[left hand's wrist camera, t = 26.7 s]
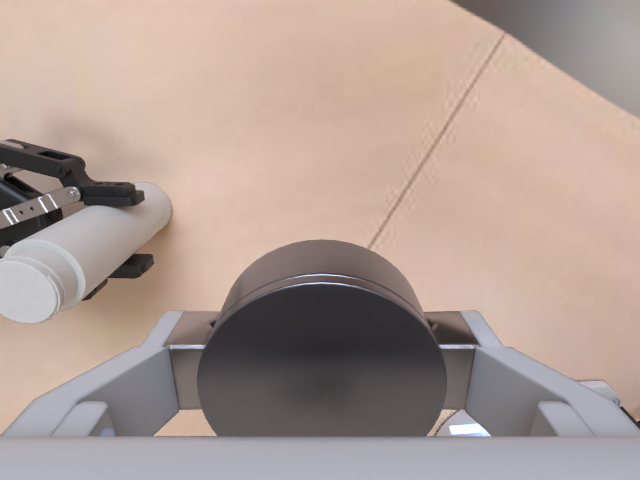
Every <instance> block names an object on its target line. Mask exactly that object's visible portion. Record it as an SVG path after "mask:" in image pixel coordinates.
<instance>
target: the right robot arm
mask: <svg viewBox="0 0 640 480" xmlns="http://www.w3.org/2000/svg"><path fill="white" fill-rule="evenodd" d="M84 169H85V162H84V160H83V159H82V158H81V157H78V156H75V155H71V154H67V153H63V152H59V151H56V150H52V149H48V148H44V147H40V146H37V145H33V144H29V143H25V142H21V141H17V140H14V139H8V140H1V141H0V259H1V258H4V255H5V253H6V252H7V250H8V249H9V248H10V247H11V246H13V245H14V244H16V243H17V242H19V241H21V240H23V239H25V238H27V237H29V236H31V235H33V234H35V233H37V232H39V231H41V230H43V229H45V228H47V227H49V226H51V225H53V224H55V223H57V222H59V221H61V220H63V214H62V210H61V207H63V206H66V205H69V204H72V203H75V202H77V201H84V205H91V206H97V205H98V206H136V205H138V204H140V203H141V202H143V201H144V200H145V196H144V191H143V190H136V188H135V185H134V184H131V183H129V182H97V181H93V180H91V179H90V178H89V177H88V176H87V174H86V172H85V170H84ZM23 170H28V171H32V172H36V173H40V174H44V175H48V176H52V177H56V178H59V180H60V181H61V183H62V185H63V186H64V187H63V188H60V189H58V190H55V191H52V192H49V193H46V194H42V193H40V192H39V191H37V190H36V189H34V188H32V187H31V186H29V185H28V184H26V183H24V182H23V181H21V180H20V179H18V178H16V177H15V176H13V175H12V174H13V173H16V172H19V171H23ZM153 264H154V260H153V255H151V254H133V255H132V256H131V257H129V258H128V259H127V260H126V261H125V262H124V263H123V264H122V265H120V266H119V267H118V268H117V269H116V270H115V271H114V272H113V273H111V274H110V275H109V276H108V277H107V278H137V277H140V276H141V275H142V274H143V273H144V272H146V271H147V270H148V269H149V268H150V267H151V266H152V265H153ZM107 278H106V279H105V280H104V281H102V282H101V283H100V284H99V285H98V286H97V287H96V288H95V289H93V290H92V291H91V292H90V293H89V294H88V295H87V296H86V297H84V298H83V299H82V300H81V301H84V300H88V299H90V298H92V297H93V296H94V295H95V294H96V293H97V292H98V291H99V290H100V289H102V288H103V287H104V286H105V285H106V284H107V282H108V280H107Z"/></svg>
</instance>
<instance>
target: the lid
mask: <svg viewBox="0 0 640 480" xmlns="http://www.w3.org/2000/svg"><path fill="white" fill-rule="evenodd" d="M197 388H198V396H199V400H200V404H201V408H202V410H203V412H204V415H205V417H206V419H207V421H208V423H209V424H210V426H211V428H212V429H213V431H214V432H215V433H216V434H217V436H427V435H428V433H429V432H430V431H431V429H432V428H433V426H434V424H435V423H436V421H437V419H438V418H439V415H440V413H441V410H442V408H443V405H444V401H445V396H446V390H447V372H446V365H445V361H444V357H443V354H442V351H441V349H440V347H439V345H438V343H437V340H436V338H435V336H434V334H433V332H432V329H431V327H430V325H429V323H428V321H427V319H426V316H425V314H424V312H423V310H422V308H421V306H420V303H419V301H418V299H417V297H416V295H415V293H414V290H413V288H412V287H411V285H410V284H409V282H408V281H407V279H406V278H405V277H404V276H403V274H402V273H401V272H400V271H399V270H398V269H397V268H396V267H395V266H394V265H392V264H391V263H390V262H389V261H388V260H386V259H385V258H383V257H381V256H380V255H378V254H377V253H375V252H373V251H370V250H368V249H366V248H364V247H361V246H358V245H355V244H351V243H347V242H342V241H336V240H308V241H302V242H297V243H292V244H289V245H286V246H283V247H280V248H278V249H275V250H273V251H271V252H269V253H267V254H265V255H264V256H262V257H261V258H259V259H258V260H256V261H255V262H254V263H252V264H251V265H250V266H249V267H248V268H247V269H246V270H245V271H244V272H243V273H242V274H241V275H240V276H239V277H238V279H237V280H236V282H235V283H234V285H233V286H232V288H231V289H230V292H229V294H228V296H227V298H226V300H225V303H224V305H223V307H222V309H221V312H220V314H219V316H218V318H217V320H216V323H215V325H214V327H213V329H212V332H211V334H210V336H209V338H208V341H207V343H206V345H205V347H204V349H203V352H202V354H201V358H200V362H199V365H198V374H197Z"/></svg>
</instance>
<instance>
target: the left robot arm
mask: <svg viewBox="0 0 640 480" xmlns="http://www.w3.org/2000/svg"><path fill="white" fill-rule="evenodd" d="M219 314H220V312H219V311H166V312H164V313H163V314H162V316H161V317H160V319H159V320H158V322H157V323H156V324H155V326H154V327H153V329H152V330H151V331H150V333H149V334H148V336H147V337H146V338H145V340H144V341H143V343H142V344H141V346H140V347H133V348H131V349H129V350H127V351H125V352H123V353H121V354H119V355H117V356H115V357H114V358H112V359H110V360H108V361H106V362H104V363H102V364H100V365H98V366H96V367H95V368H93V369H91V370H89V371H87V372H85V373H83V374H81V375H79V376H77V377H76V378H74V379H72V380H70V381H68V382H66V383H64V384H62V385H60V386H58V387H57V388H55V389H53V390H51V391H49V392H47V393H45V394H43V395H41V396H39V397H38V398H36V399H34V400H33V401H32V402H31V403H30V404H29V405H28V406H27V407H26V408H25V410H24V411H23V412H22V413H21V414H20V415H19V416H18V417H17V418H16V419H15V420H14V421H13V422H12V424H11V425H10V426H9V427H8V428H7V429H6V430H5V431H4V432H3V433H2V434H1V435H0V480H640V421H638V422H636V421H635V420H634V418H633V417H632V416H631V415H630V414H629V413H628V412H627V411H626V410H625V409H624V408H623V406H622V403H621V401H620V399H619V397H618V395H617V394H616V393H615V391H614V390H613V389H612V388H611V386H610V385H609V384H608V383H606V382H605V381H599V380H597V381H575V380H573V379H571V378H569V377H567V376H565V375H563V374H561V373H559V372H558V371H556V370H554V369H552V368H550V367H548V366H546V365H544V364H542V363H540V362H538V361H537V360H535V359H533V358H531V357H529V356H527V355H525V354H523V353H521V352H519V351H517V350H515V349H514V348H512V347H504V345H503V344H502V343H501V341H500V340H499V339H498V337H497V336H496V334H495V333H494V332H493V330H492V329H491V328H490V326H489V325H488V324H487V322H486V321H485V319H484V318H483V317H482V315H481V314H480V313H479V312H478V311H476V310H474V311H444V312H424V314H425V316H426V319H427V321H428V323H429V325H430V327H431V329H432V332H433V334H434V336H435V338H436V340H437V343H438V345H439V347H440V349H441V351H442V354H443V357H444V361H445V365H446V372H447V390H446V396H445V401H444V405H443V408H442V409H453V410H459V411H458V412H457V413H455V414H454V415H453V416H452V417H450V418H449V419H448V420H447V421H446V422H445V423H444V424H443V425H442V427H441V428H440V429H439V431H438V432H437V434H436V436H153V435H154V434H155V433H157V432H158V431H159V430H160V429H161V428H162V427H163V426H164V425H165V424H166V423H167V422H168V421H170V420H171V419H172V418H173V417H174V416H175V415H176V414H177V413H178V412H179V410H190V409H202V408H201V404H200V400H199V396H198V388H197V374H198V365H199V362H200V358H201V354H202V352H203V349H204V347H205V345H206V343H207V341H208V338H209V336H210V334H211V332H212V329H213V327H214V325H215V323H216V320H217V318H218V316H219Z"/></svg>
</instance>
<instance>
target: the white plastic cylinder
mask: <svg viewBox="0 0 640 480" xmlns="http://www.w3.org/2000/svg"><path fill="white" fill-rule="evenodd" d="M133 184H134V185H135V188H136V190H143V191H144V196H145V200H144V201H143V202H141V203H140V204H138V205H136V206H98V205H97V206H91V205H90V206H88V207H86V208H84V209H82V210H80V211H78V212H76V213H74V214H72V215H70V216H68V217H66V218H65V219H63V220H61V221H59V222H57V223H55V224H53V225H51V226H49V227H47V228H45V229H43V230H41V231H39V232H37V233H35V234H33V235H31V236H29V237H27V238H25V239H23V240H21V241H19V242H17V243H16V244H14V245H13V246H11V247H10V248H9V249H8V250H7V252H6V253H5V255H4V258H1V259H0V314H1V315H3V316H4V317H6V318H8V319H10V320H13V321H16V322H19V323H25V324H33V323H42V322H45V321H47V320H50V319H51V318H52V317H53V316H55V315H56V314H57V312H59V311H64V310H67V309H70V308H72V307H74V306H75V305H77V304H78V303H79V302H80V301H81V300H82V299H83V298H84V297H86V296H87V295H88V294H89V293H90V292H91V291H92V290H93V289H95V288H96V287H97V286H98V285H99V284H100V283H101V282H102V281H104V280H105V279H106V278H107V277H108V276H109V275H110V274H111V273H113V272H114V271H115V270H116V269H117V268H118V267H119V266H120V265H122V264H123V263H124V262H125V261H126V260H127V259H128V258H129V257H131V256H132V255H133V254H134V253H135V252H136V251H137V250H138V249H140V248H141V247H142V246H143V245H144V244H145V243H146V242H147V241H149V240H150V239H151V238H152V237H153V236H154V235H155V234H156V233H158V232H159V231H160V230H161V229H162V228H163V227H164V226H165V225H166V224H167V223H168V222H169V220H170V218H171V214H172V207H171V203H170V200H169V198H168V196H167V195H166V194H165V192H164V191H163V190H162V189H160V188H159V187H157V186H156V185H153V184H151V183H147V182H137V183H133Z"/></svg>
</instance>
